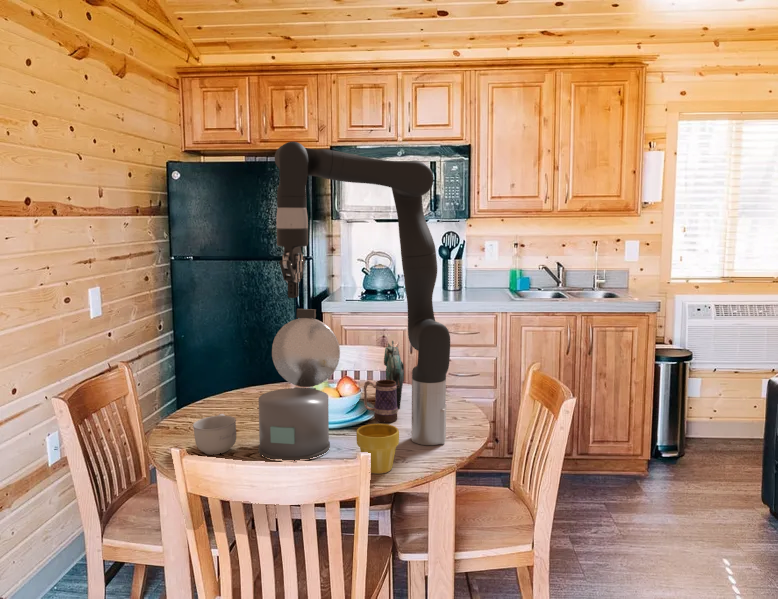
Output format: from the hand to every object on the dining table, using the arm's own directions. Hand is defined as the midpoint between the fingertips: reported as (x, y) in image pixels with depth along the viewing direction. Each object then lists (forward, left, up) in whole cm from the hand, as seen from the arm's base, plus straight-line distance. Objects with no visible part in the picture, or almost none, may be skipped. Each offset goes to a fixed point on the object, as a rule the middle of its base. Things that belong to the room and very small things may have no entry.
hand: (293, 297), depth 157 cm
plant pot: (-22, +4, -41) cm, 47 cm away
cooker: (+2, -5, -41) cm, 41 cm away
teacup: (+22, -2, -41) cm, 47 cm away
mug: (-16, -33, -41) cm, 55 cm away
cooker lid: (+2, -15, -16) cm, 22 cm away
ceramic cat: (-17, -53, -41) cm, 69 cm away
